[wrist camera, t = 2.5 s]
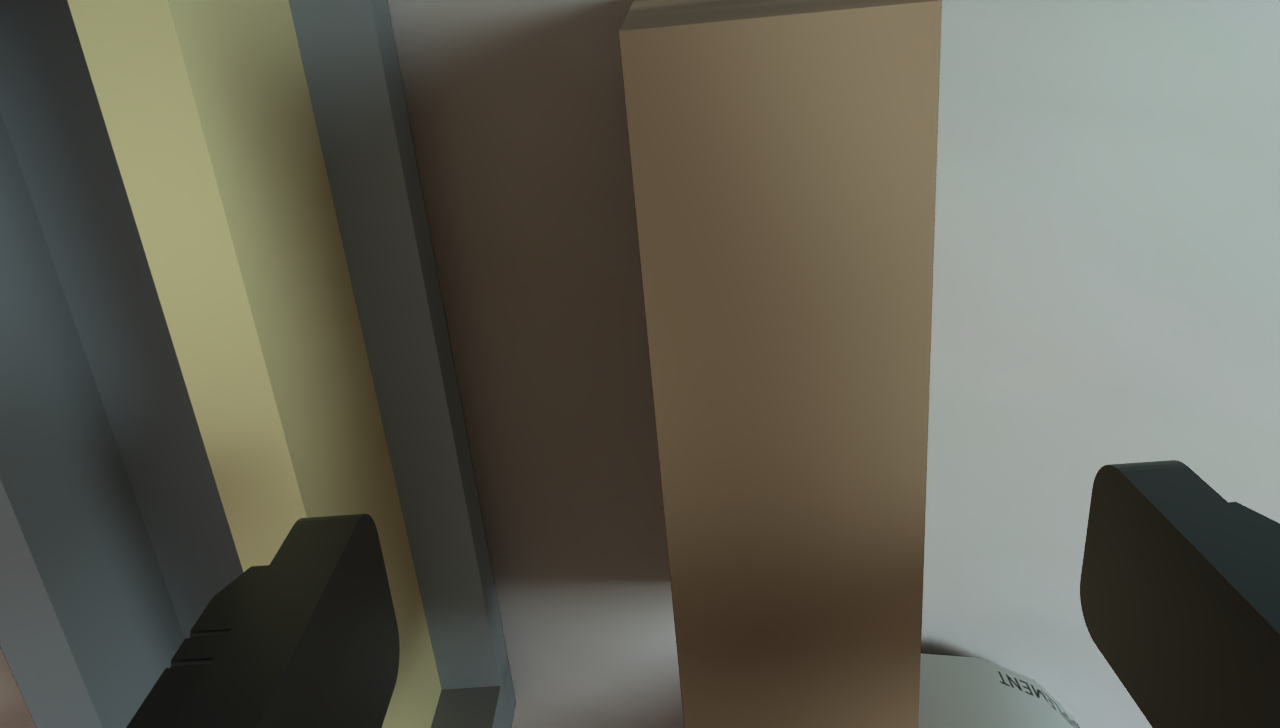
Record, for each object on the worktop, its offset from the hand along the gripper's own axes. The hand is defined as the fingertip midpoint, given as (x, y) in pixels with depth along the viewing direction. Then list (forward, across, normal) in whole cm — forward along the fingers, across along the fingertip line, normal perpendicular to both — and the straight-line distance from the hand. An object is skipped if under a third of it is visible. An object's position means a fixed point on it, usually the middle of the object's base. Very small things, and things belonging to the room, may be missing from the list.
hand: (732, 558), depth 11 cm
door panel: (+8, -1, 0) cm, 8 cm away
